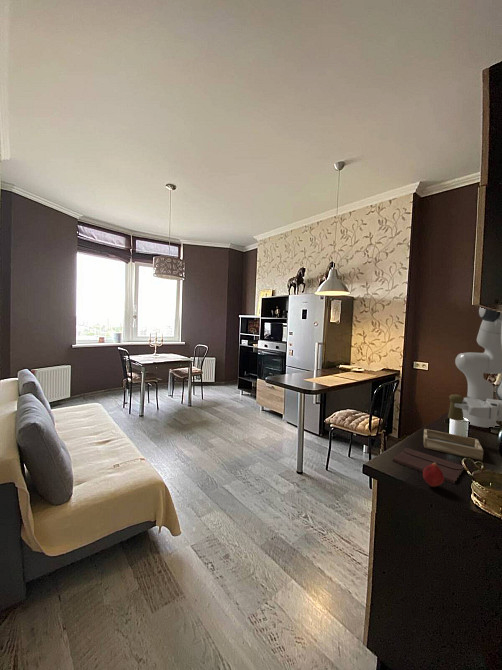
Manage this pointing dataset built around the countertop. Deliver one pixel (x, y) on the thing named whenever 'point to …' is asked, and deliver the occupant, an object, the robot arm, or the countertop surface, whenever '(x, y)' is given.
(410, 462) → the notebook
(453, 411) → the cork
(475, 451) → the tray
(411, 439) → the countertop surface
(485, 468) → the countertop surface
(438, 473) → the onion
